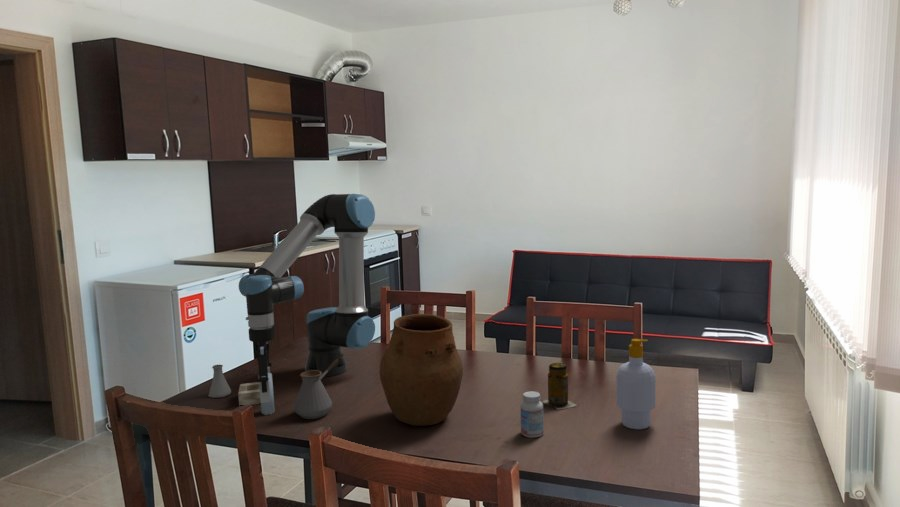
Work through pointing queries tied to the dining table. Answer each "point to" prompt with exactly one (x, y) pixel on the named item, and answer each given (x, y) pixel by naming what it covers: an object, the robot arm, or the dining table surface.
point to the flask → (219, 383)
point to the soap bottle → (636, 388)
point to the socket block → (249, 394)
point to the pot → (421, 369)
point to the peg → (269, 406)
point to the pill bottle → (532, 415)
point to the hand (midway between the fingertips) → (265, 394)
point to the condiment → (558, 387)
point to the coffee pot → (314, 394)
